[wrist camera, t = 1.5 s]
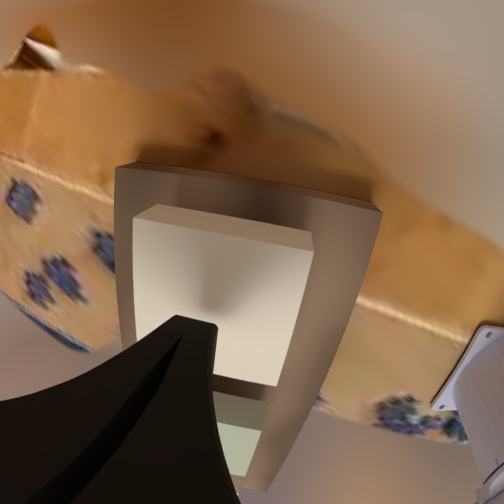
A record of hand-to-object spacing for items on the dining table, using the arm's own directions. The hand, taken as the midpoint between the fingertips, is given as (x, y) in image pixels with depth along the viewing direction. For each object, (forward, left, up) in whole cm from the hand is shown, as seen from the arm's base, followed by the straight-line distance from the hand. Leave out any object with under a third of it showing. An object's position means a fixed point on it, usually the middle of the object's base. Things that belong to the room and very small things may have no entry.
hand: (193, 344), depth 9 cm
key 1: (0, 0, -4) cm, 4 cm away
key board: (0, +10, -7) cm, 12 cm away
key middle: (0, +10, -4) cm, 10 cm away
